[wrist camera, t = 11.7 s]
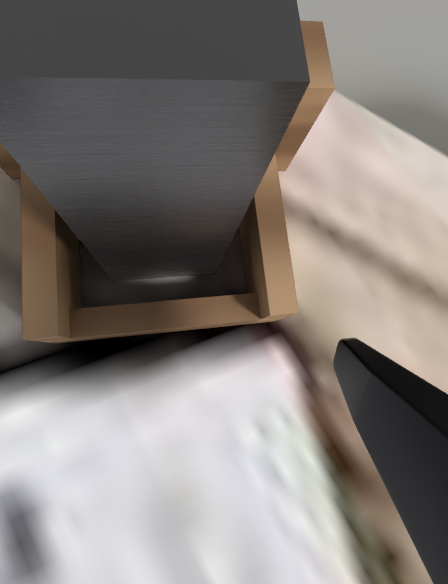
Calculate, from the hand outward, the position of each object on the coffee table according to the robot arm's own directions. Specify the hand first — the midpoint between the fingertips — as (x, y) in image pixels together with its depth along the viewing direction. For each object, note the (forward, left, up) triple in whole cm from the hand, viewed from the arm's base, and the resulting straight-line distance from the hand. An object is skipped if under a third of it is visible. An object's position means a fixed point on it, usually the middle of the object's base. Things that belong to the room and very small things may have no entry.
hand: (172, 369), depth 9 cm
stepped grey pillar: (+2, -6, -8) cm, 10 cm away
